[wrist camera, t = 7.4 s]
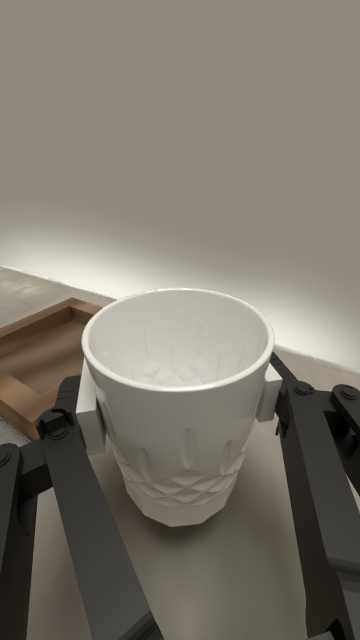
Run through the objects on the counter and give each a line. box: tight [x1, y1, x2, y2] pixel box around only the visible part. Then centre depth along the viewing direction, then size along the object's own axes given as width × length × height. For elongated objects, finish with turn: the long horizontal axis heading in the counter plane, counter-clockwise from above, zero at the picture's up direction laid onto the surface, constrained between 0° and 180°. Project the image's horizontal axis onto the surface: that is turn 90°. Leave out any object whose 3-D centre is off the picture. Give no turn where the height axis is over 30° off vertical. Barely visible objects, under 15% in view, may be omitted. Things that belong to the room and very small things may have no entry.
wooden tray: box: [0, 298, 103, 441], centre depth 30 cm, size 16×16×3 cm
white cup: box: [82, 288, 274, 527], centre depth 14 cm, size 8×8×10 cm
